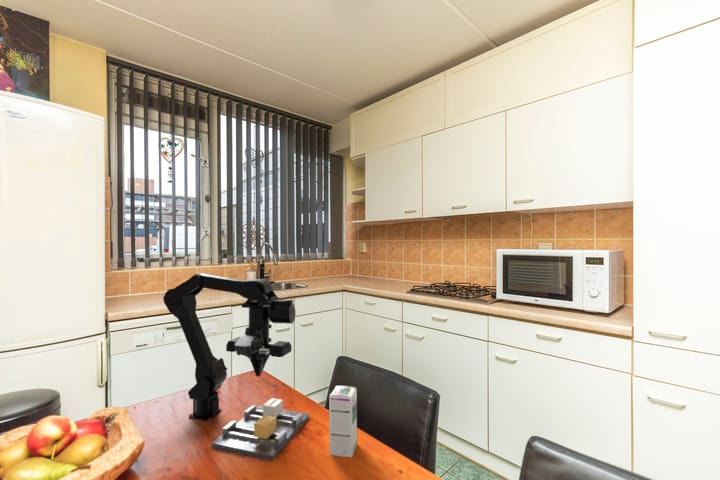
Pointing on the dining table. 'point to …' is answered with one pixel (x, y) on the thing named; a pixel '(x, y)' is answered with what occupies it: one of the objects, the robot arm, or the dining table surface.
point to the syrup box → (343, 421)
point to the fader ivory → (273, 407)
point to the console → (245, 443)
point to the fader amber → (265, 427)
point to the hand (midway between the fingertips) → (258, 376)
